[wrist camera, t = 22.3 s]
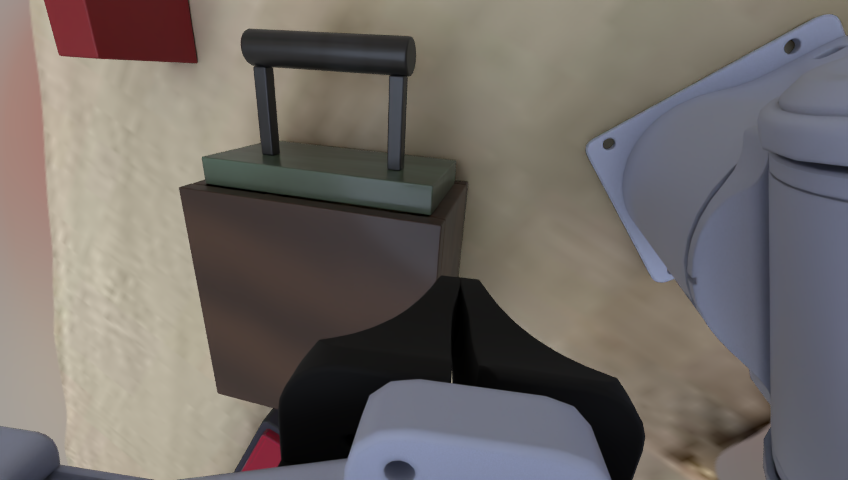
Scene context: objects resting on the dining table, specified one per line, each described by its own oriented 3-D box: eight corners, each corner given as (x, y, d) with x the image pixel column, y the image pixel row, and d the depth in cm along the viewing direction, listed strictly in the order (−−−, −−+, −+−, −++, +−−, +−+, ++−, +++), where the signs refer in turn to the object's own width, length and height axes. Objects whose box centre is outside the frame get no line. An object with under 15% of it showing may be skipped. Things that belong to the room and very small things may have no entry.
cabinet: (274, 157, 23) (178, 187, 17) (468, 181, 21) (441, 225, 14) (288, 322, 27) (217, 393, 21) (449, 356, 25) (423, 448, 19)
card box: (146, -41, 20) (20, -80, 15) (182, -41, 20) (65, -81, 15) (164, 61, 22) (58, 55, 17) (198, 63, 22) (98, 58, 17)
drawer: (263, 34, 20) (179, 21, 15) (467, 45, 17) (444, 33, 13) (286, 303, 26) (232, 352, 21) (440, 334, 24) (417, 397, 19)
